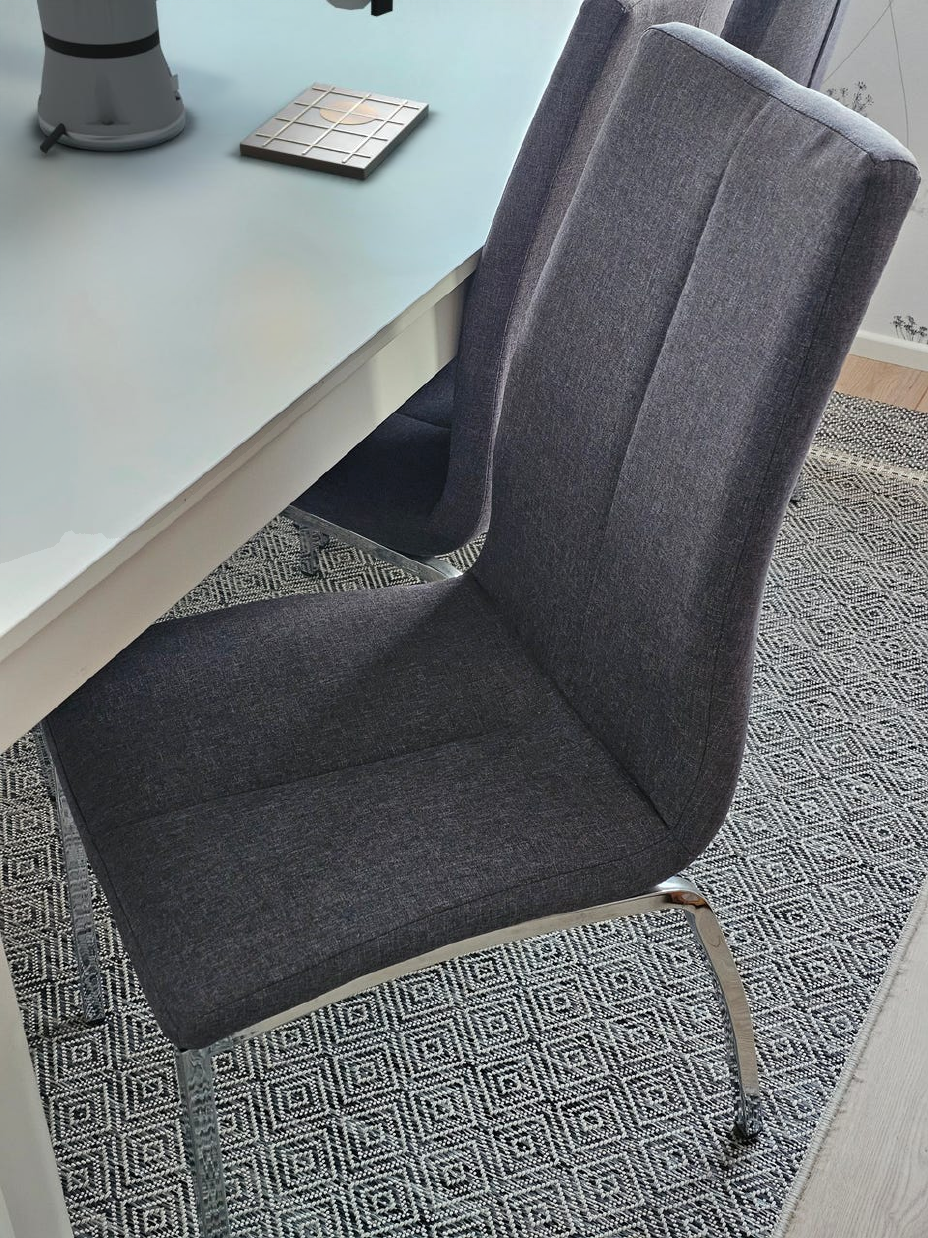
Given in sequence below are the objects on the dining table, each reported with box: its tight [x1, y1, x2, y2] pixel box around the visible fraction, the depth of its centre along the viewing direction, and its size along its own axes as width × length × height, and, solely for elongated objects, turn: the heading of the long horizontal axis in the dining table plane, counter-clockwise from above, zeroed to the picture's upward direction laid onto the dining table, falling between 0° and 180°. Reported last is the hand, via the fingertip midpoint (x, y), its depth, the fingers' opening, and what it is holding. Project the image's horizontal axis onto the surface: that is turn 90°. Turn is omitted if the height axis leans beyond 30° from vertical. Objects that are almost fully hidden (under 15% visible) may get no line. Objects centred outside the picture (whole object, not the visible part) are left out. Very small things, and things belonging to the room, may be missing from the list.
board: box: [239, 82, 430, 181], centre depth 131 cm, size 20×14×1 cm
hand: (349, 2), depth 125 cm, fingers closed on apple, 8 cm apart
